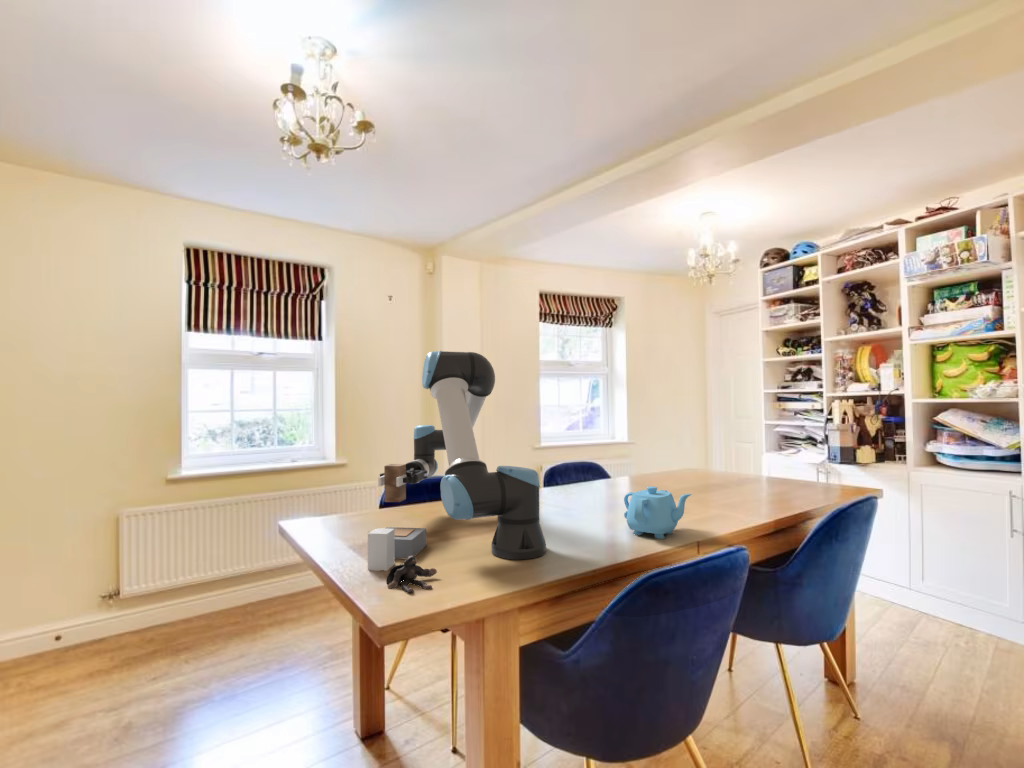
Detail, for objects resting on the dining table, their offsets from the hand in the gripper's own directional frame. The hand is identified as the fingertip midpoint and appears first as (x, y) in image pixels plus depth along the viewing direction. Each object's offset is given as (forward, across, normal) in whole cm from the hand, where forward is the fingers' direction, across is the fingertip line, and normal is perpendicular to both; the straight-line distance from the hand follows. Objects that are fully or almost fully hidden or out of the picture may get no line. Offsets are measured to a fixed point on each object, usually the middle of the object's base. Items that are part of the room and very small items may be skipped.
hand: (388, 481), depth 150 cm
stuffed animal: (+32, -19, -18) cm, 41 cm away
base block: (+10, -7, -18) cm, 21 cm away
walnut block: (-5, 0, -6) cm, 8 cm away
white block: (+23, -8, -18) cm, 30 cm away
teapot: (-17, -81, -18) cm, 84 cm away
